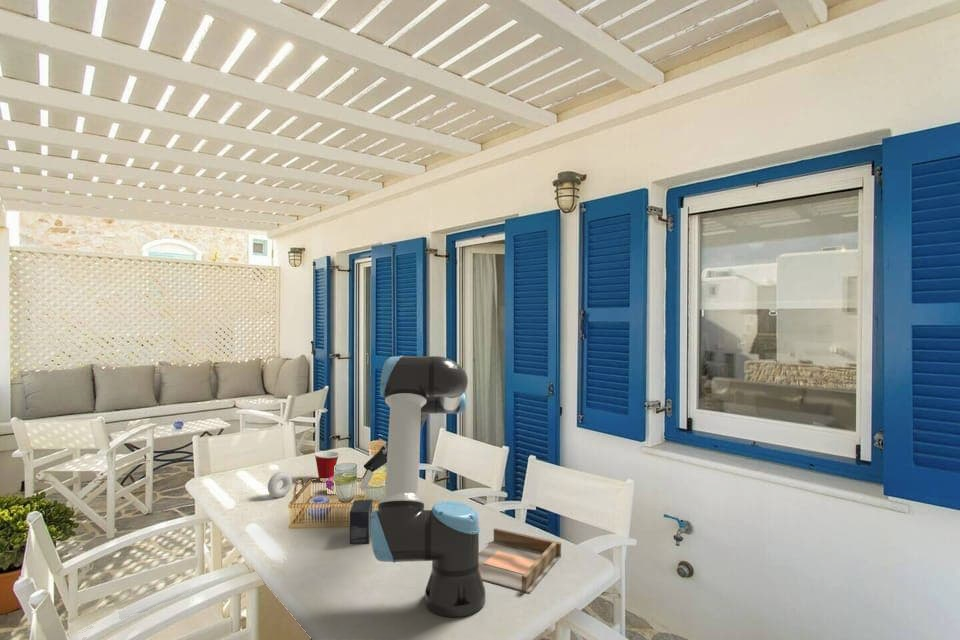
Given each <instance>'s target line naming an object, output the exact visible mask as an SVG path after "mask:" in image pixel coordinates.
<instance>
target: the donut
mask: <svg viewBox="0 0 960 640" xmlns="http://www.w3.org/2000/svg"><path fill="white" fill-rule="evenodd" d="M281 481H282V486H281V487H280V488H278V483H279V482H281ZM292 487H293V478H292V477H291V475H290V474H289V473H288V472H286V471H279V472H276V473H274V474H273V475H272V476H271V477H270V479H269V481H268V483H267V491H268V493H269V496H271V497H273V498H278V499H279V498H282V497H284V496H286V495H287V494H288V493H289V492H290V491H291V489H292Z"/></svg>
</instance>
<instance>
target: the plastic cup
mask: <svg viewBox="0 0 960 640" xmlns="http://www.w3.org/2000/svg"><path fill="white" fill-rule="evenodd" d="M313 454H314V457H315V462H316V468H317V470H316V471H317V475H318V479H319V478H330V477H335V472H334V466H335V465H336V466H337V464H338V463H337V462H338V458H339V457H340V453H339V452H337V451H330V450H329V451H328V450H323V451H317V452H314V453H313Z"/></svg>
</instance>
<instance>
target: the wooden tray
mask: <svg viewBox="0 0 960 640" xmlns="http://www.w3.org/2000/svg"><path fill="white" fill-rule="evenodd" d="M560 558H562V542H559V541H556V540H551V539H545V538H541V537H538V536H534V535H533V536H532V535H529V534H528V535H527V534H524V533H519V532H515V531H509V530H505V529H501V528H496V527H495V528H493V541H492V542H491V543H489V544H488V545H486V546H485V547H484V548H483V549H482V550H480V551H479V571H480V574H481V578H482V581H484V582H486V581H487V583H491V584H494V585H497V584H498V585H497V586H502V587H505V588H509V589H512V590H515V591H518V592H523V593H525V594H531V593H532V592H533V590H534V589H536V587H537V586H538V585H539V583H540V582H541V581H542V580H543V579H544V577H545V576H546V575H547V574H548V573H549V571H550V570H551V569H552V568H553V567H554V565H555V564H557V562H558V561H559V559H560Z"/></svg>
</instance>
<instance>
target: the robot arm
mask: <svg viewBox="0 0 960 640" xmlns="http://www.w3.org/2000/svg"><path fill="white" fill-rule="evenodd" d="M468 381H469V378H468V375H467V373H466V371H465V369H464V368H463V367H462V366H461V365H460V364H459V363H457V362H456V361H454V360H452V359H450V358H448V357H444V356H439V355H434V356H429V355H428V356H427V355H426V356H424V355H423V356H422V355H420V356H418V355H415V356H414V355H413V356H411V355H409V356H407V355H400V356H390V357H388V358H386V360H385V361H384V364H383V367H382V371H381V375H380V386H379V391H380V392H379V394H380V396H381V397H382V398H384V402H385V404H386V405H387V406H388V407H389V421H388V441H387V447H385V446H384V445H383V446H381V448H380V449H379V450H378V452H376V453H375V454H374V455H373V456H372V457H371V458H370V459H369V460H368V461H367V462H366V463H365V464H363V468H364V469H365V472H364V474H363V476H362V480H361V482H360V484H359V486H358V487H359V488H360V489H361V490H362V491H366V489H367V487H368V485H369V483H370V481H371V480H372V477H373V476H374V472H375V471H377V470H379V469H380V468H381V467H382V466H384V465H386V469H385V470H386V473H385V488H384V489H385V491H384V496H383V497H382V499H380V501H379V502H378V504H377V505H378V506H377V510H376V509H375V510H374V511H373V510H372V514H371V545H372V552H373V555H374V558H375V559H376V560H377V561H378V562H381V563H382V562H383V563H384V562H386V563H393V564H394V563H395V564H396V563H397V562H398V563H402V562H432V563H431V572H430V574H429V578H428V581H427V584H426V588H425V590H424V604H425V606H426V608H427V609H428V610H429V611H430V612H431V613H433V614H436V615H438V616H440V617H447V618H461V617H467V616H470V615H473V614H475V613H478V612H479V611H480V610H482V608H483V607H484V606H485V604H486V588H485V586H484V582H483V580H482V578H481V574H480V571H479V552H480V550H479V549H480V548H479V545H480V542H479V540H480V539H479V538H480V537H479V535H480V534H479V533H480V531H481V529H480V523H479V522H480V519H479V514H478V512H477V511H476V509H474V508H473V507H472V506H470V505H468V504H466V503H463V502H460V501H453V500H442V501H439V502H438V501H437V502H436V503H435V502H434V504H433V506H432V508H431V509H425V502H424V500H423V499H421V497H420V496H419V494H420V493H419V492H420V491H419V489H420V485H419V484H420V459H421V458H420V457H421V455H420V454H421V453H420V452H421V430H422V427H423V426H424V424H425V422H426V420H427V418H428V416H429V414H435V415H436V414H455V415H457V414H458V415H459V414H464V413H465V412H466V408H467V407H466V405H467V403H466V401H467V400H466V393H465V392H466V389H467V388H468V384H469V383H468Z"/></svg>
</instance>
